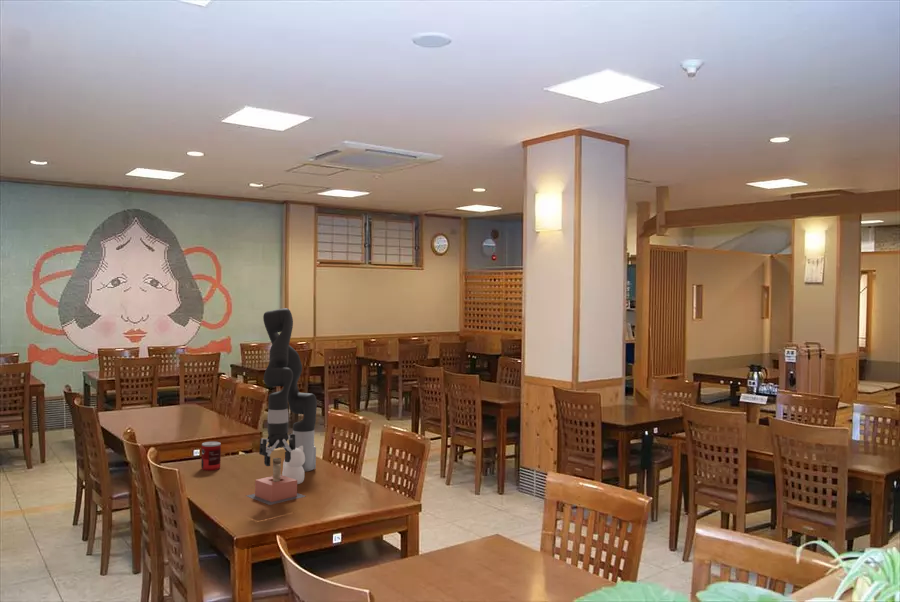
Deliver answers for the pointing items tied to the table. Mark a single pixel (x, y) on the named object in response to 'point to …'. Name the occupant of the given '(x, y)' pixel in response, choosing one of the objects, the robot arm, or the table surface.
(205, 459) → the canned food
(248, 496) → the mat
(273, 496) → the pink square peg base
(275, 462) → the grey beige cylinder
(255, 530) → the table surface
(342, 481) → the table surface
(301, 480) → the cat figurine
